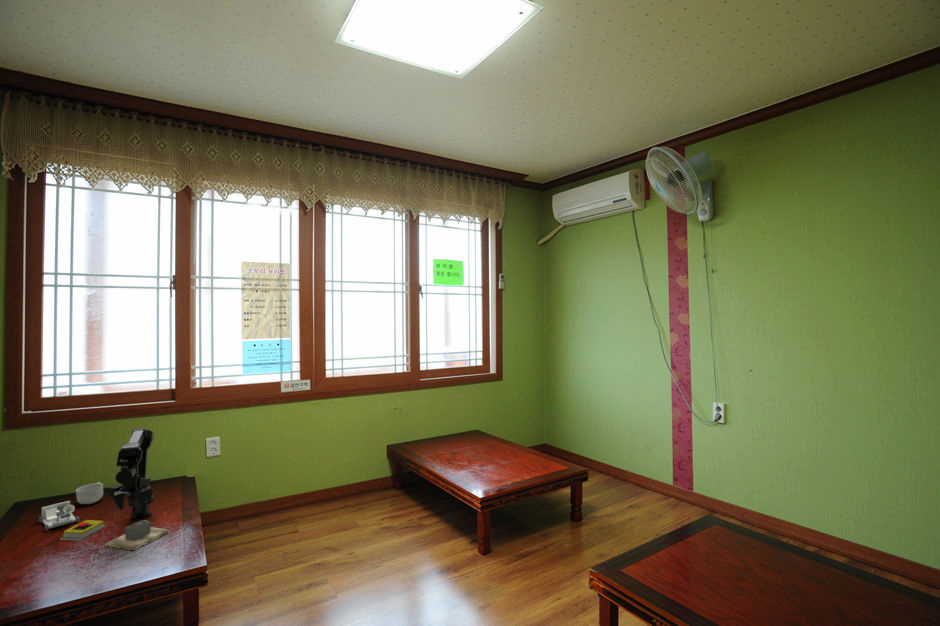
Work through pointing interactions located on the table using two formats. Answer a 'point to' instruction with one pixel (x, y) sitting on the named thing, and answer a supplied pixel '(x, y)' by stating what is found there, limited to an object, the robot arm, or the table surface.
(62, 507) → the white mechanical fixture
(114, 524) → the table surface
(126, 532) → the grey open bin
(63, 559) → the table surface
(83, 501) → the teacup
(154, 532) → the switch plate
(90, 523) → the emergency button
